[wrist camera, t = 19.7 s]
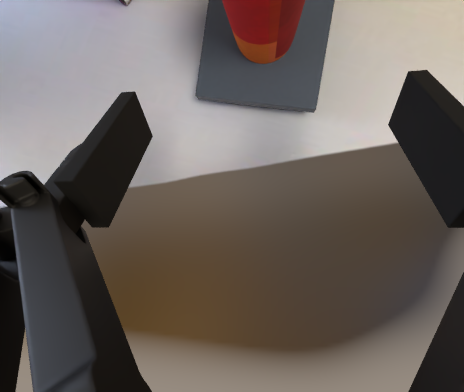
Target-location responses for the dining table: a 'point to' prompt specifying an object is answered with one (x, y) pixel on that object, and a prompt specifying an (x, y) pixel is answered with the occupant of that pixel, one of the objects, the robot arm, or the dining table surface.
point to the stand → (265, 75)
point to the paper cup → (264, 26)
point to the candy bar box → (125, 2)
